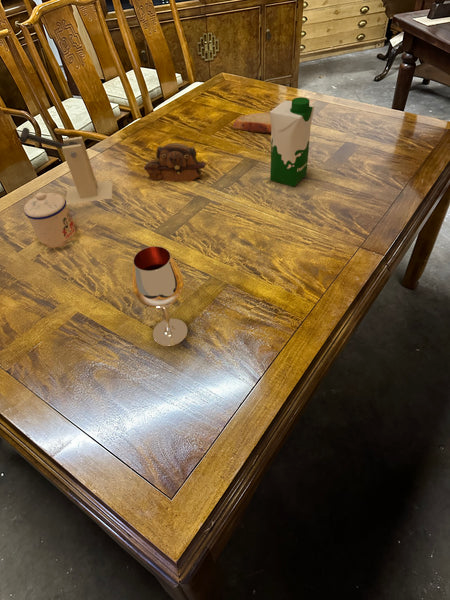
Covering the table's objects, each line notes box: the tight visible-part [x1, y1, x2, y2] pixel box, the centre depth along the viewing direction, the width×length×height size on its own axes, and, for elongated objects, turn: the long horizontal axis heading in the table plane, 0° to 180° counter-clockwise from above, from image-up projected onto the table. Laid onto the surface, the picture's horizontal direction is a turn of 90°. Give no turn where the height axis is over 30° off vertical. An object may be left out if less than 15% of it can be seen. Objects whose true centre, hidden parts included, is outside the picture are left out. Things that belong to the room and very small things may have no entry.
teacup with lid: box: [23, 191, 77, 249], centre depth 95 cm, size 12×9×12 cm
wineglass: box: [131, 245, 188, 347], centre depth 70 cm, size 8×8×18 cm
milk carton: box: [269, 96, 315, 188], centre depth 103 cm, size 9×9×20 cm
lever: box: [19, 127, 78, 150], centre depth 99 cm, size 13×5×2 cm, turn 101°
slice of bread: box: [232, 111, 271, 134], centre depth 129 cm, size 18×18×4 cm
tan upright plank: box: [61, 136, 113, 206], centre depth 105 cm, size 12×9×15 cm
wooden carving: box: [143, 142, 207, 182], centre depth 109 cm, size 16×5×10 cm, turn 88°
